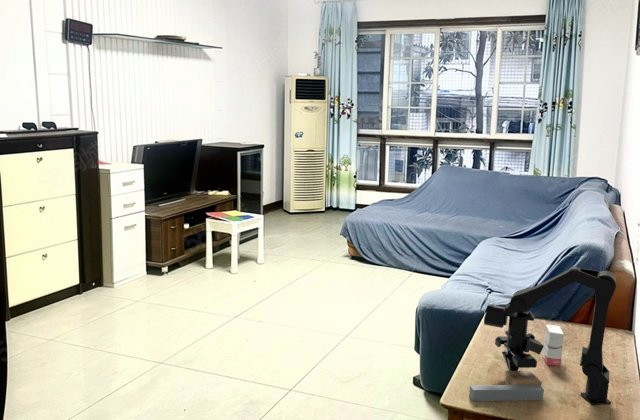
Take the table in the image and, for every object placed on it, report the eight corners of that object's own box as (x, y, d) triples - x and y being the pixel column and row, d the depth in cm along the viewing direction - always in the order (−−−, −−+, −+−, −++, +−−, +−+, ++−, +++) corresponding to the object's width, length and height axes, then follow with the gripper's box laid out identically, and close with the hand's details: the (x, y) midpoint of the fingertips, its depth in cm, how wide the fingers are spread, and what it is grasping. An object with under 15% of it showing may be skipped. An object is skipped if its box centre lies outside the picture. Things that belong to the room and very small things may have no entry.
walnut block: (540, 395, 187) (541, 382, 186) (515, 396, 186) (516, 382, 185) (528, 383, 194) (530, 370, 194) (504, 384, 193) (506, 370, 193)
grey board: (542, 400, 183) (543, 389, 183) (472, 401, 181) (473, 390, 180) (538, 395, 186) (539, 384, 186) (469, 396, 184) (470, 385, 183)
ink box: (560, 366, 208) (564, 334, 206) (545, 365, 209) (549, 332, 207) (556, 356, 216) (560, 325, 214) (542, 355, 217) (545, 323, 215)
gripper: (555, 342, 184) (550, 389, 187) (528, 320, 202) (523, 363, 205) (520, 342, 183) (515, 390, 186) (496, 319, 201) (492, 364, 204)
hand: (512, 376), depth 195 cm, fingers closed
